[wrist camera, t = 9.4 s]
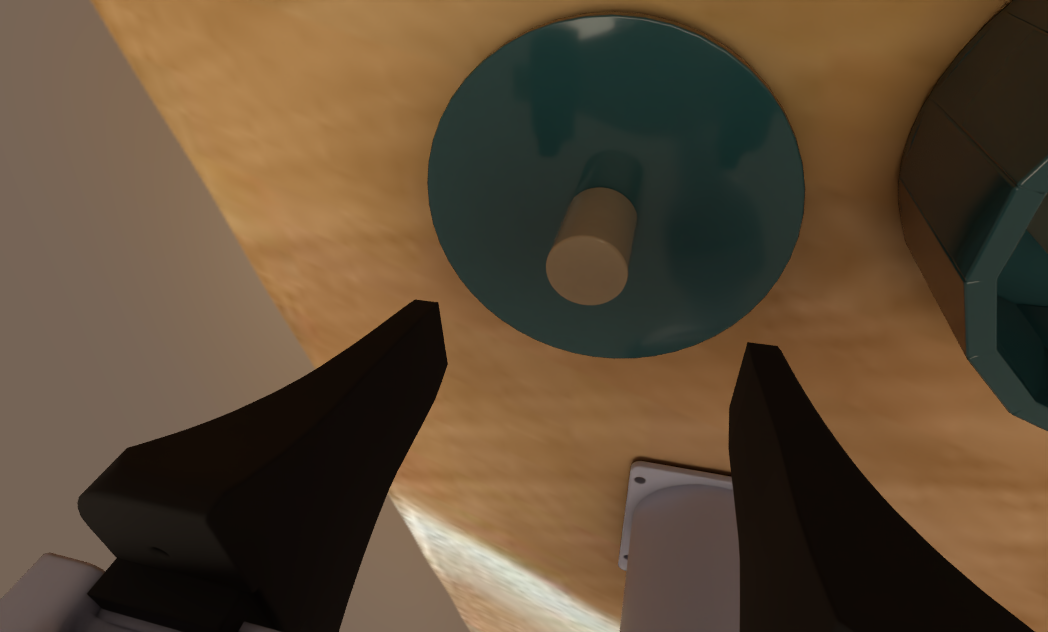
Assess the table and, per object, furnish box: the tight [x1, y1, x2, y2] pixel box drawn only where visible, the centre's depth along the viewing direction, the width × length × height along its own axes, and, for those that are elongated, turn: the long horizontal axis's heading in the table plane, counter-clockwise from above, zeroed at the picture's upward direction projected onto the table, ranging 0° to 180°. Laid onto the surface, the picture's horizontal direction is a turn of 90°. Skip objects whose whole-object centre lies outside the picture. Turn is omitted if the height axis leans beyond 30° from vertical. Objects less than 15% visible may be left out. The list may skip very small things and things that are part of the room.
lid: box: [428, 11, 805, 358], centre depth 18 cm, size 12×12×4 cm
